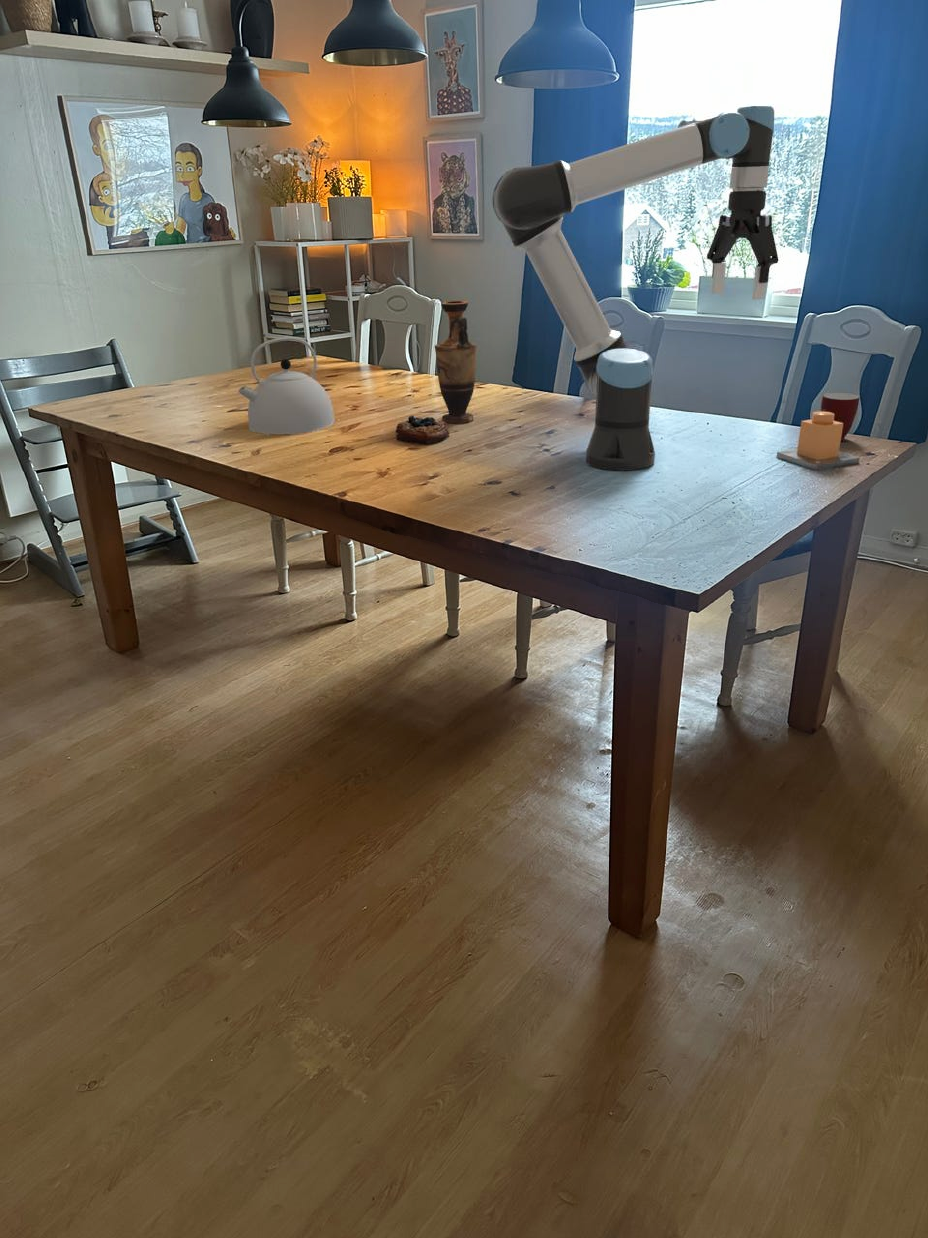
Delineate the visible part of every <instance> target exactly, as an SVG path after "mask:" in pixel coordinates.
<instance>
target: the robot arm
mask: <svg viewBox="0 0 928 1238" xmlns="http://www.w3.org/2000/svg"><path fill="white" fill-rule="evenodd" d="M774 131H775V108H774V107H773V106H771V105H767V104H760V105H759V104H757V105H756V104H755V105H743V106H740V107H738V109H737V111H730V110H729V111H728V110H727V111H725V112H721V113H719V114H717V115H713V116H709V117H702V118H701V117H699V118H697V117H693V118H686V119H685V118H684V119H682V120H681V121H680V122H679V124H678V126H677V128H674V129H670V130H667V131H664V132H661V133H658V134H656V135H653V136H649V137H646V138H643V139H641V140H637V141H634V142H631V143H628V144H625V145H621V146H618V147H615V148H612V149H610V150H605V151H603V152H599V153H598V154H597V153H596V154H594V155H591V156H588V157H585V158H582V159H578V160H576V161H575V160H574V161H572V162H569V163H567V162H565V161H563V160H561V159H560V160H557V161H554V162H551V163H547V164H541V165H533V166H523V167H522V166H519V167H513V168H512V169H510V170H508V171H506V172H505V173H503V174H502V175H501V177H499V179H498V180H497V181H496V183H495V186H494V188H493V192H492V199H491V200H492V208H493V212H494V213H495V216H496V217H497V219H498V220H499V221H500V223H501V224H502V225H503V227H504V229H505V231H506V233H507V234H508V237H509V238H510V239H509V240H511V242H512V244H513V246H514V248H516V249H517V250H520V251H523V252H525V253H526V255H527V257H528V259H529V262H530V263H531V264H532V267H533V269H534V271H535V273H536V274H537V276H538V278H539V280H540V282H541V284H542V286H543V288H544V289H545V291H546V293H547V296H548V297H549V299H550V301H551V303H552V305H553V306H554V309H555V311H556V313H557V315H558V316H559V318H560V321H561V322H562V324H563V326H564V327H565V330H566V331H567V334H568V336H569V337H570V339H571V341H572V344H573V345H574V347H575V350H576V351H575V353H574V357H573V359H574V361H575V363H576V366H577V367H578V369H579V370H580V373H581V375H582V378H583V382H584V384H585V386H586V388H587V389H588V390H589V392H590V393H591V394H592V395H594V396H595V417H594V419H595V420H594V429H593V431H592V434H591V437H590V439H589V443H588V445H587V448H586V451H585V462H586V463H587V464H588V465H589V466H591V467H594V468H596V469H597V468H598V469H603V470H607V471H608V470H609V471H635V470H636V471H637V470H641V469H647V468H649V467H651V466H653V465H654V464H655V459H656V451H655V447H654V443H653V440H652V435H651V432H650V428H649V427H650V412H651V397H652V396H651V395H652V384H653V382H652V381H653V376H654V368H653V359H652V357H651V355H649V354H648V353H647V352H645V351H642V350H637V349H635V348H633V349H632V348H629V347H628V346H627V345H628V344H627V343H626V341H625V339H624V337H623V334H622V333H621V332H620V331H619V330H614V329H612V328H611V327H610V325H609V323H608V321H607V319H606V317H605V316H604V313H603V311H602V309H601V307H600V305H599V303H598V300H597V299H596V297H595V295H594V293H593V292H592V288H591V287H590V285H589V284H588V282H587V279H586V277H585V275H584V273H583V272H582V269H581V267H580V265H579V263H578V261H577V260H576V259H577V258H576V257H575V255H574V254H573V252H572V249H571V248H570V246H569V244H568V241H567V240H566V237H565V236H564V234H563V232H562V228H561V227H562V223H563V220H564V217H563V216H564V215H568V214H571V213H573V212H574V210H575V208H576V207H577V206H578V205H581V204H584V203H587V202H590V201H592V200H595V199H599V198H602V197H605V196H609V195H611V194H614V193H617V192H621V191H623V190H626V189H629V188H632V187H636V186H639V185H642V184H645V183H648V182H651V181H654V180H657V179H661V178H663V177H666V176H669V175H673V174H676V173H678V172H683V171H686V170H688V169H691V168H694V167H696V166H700V165H704V164H708V163H710V162H713V161H717V160H722V159H723V160H724V159H725V160H730V159H731V161H732V164H731V171H730V180H729V188H730V189H732V191H730V193H729V194H728V195H729V196H728V204H727V208H728V210H729V211H730V214H721V215H720V216H719V219H718V220H719V222H718V226H717V229H716V231H715V234H714V236H713V240H712V242H711V245H710V247H709V249H708V252H707V255H706V259H707V260H710V261H711V262H712V272H711V273H712V274H711V277H712V284H711V295H723V294H724V291H725V289H724V288H725V280H726V278H725V277H726V269H727V263H726V261H727V260H726V258H727V256H728V254H729V253H730V251H731V250H732V248H733V247H734V245H736V243H737V240H739V239H740V238H741V239H746V240H747V241H748V242H749V245H750V247H751V249H752V252H753V255H754V256H755V258H756V262H757V264H756V266H755V269H754V270H755V271H754V280H753V289H752V296H751V297H752V298H751V300H754V301H756V300H765V298H766V288H767V284H768V283H769V277H770V268H771V266H773V265H774V264H778V262H779V255H778V251H777V250H778V249H777V246H776V242H775V237H774V236H775V235H774V231H773V226H772V225H773V216H772V214H767V215H766V214H764V215H762V214H761V213H762V211H764V209H765V208H766V199H767V192H766V191H765V189H764V188H767V187H768V180H769V172H770V171H769V169H770V159H771V153H772V146H773V145H772V144H773V143H772V142H773V139H774V138H773V137H774V133H775V132H774Z"/></svg>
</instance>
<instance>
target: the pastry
mask: <svg viewBox="0 0 928 1238" xmlns="http://www.w3.org/2000/svg"><path fill="white" fill-rule="evenodd" d="M395 433H396V434H395V436H396V438H395V439H396V441H398V442H404V443H410V444H414V443H417V444H416V445H422V444H423V446H429V445H434V444H437V443H441V442H443V441H445V440H447V438H449V437H450V432H449V425H448V423H445V422H443V421H442V420H441V421H440V420H437V421H436V419H435V418H434V417H432V416H426V417H421V416H420V417H415V416H414V415H410V416H408V419H407V420H405V421H402V422H398V424H397V425H396V428H395Z"/></svg>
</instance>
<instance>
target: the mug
mask: <svg viewBox="0 0 928 1238" xmlns="http://www.w3.org/2000/svg"><path fill="white" fill-rule="evenodd" d="M859 404H860V396H859V395H858V394H855V393H848V392H829V393H828V392H827V393H823V394H822V397H821V404H820V411H822V412H831V413H834V414H835V415H834V421H837V422H841V423H843V429H842V436H841V441H842V440H844V439H845V438H846V436H847V435H848V433H849V432H850V430H851V429H852V426H853V423H854V420H855V417H856V415H857V412H858V408H859Z"/></svg>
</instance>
